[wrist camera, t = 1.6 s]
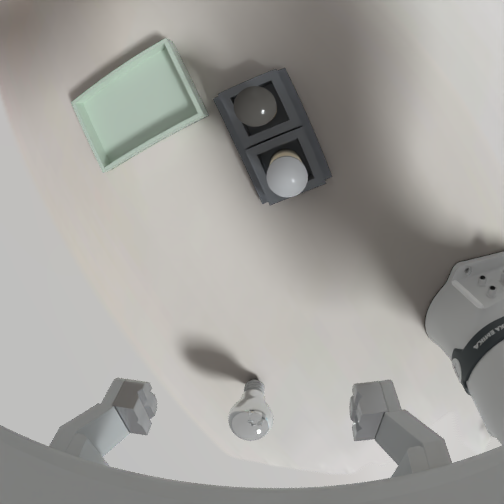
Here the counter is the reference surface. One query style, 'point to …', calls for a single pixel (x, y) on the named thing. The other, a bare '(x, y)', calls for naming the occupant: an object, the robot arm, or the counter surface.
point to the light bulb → (251, 413)
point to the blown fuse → (255, 106)
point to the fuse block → (274, 134)
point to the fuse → (286, 173)
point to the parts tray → (138, 105)
